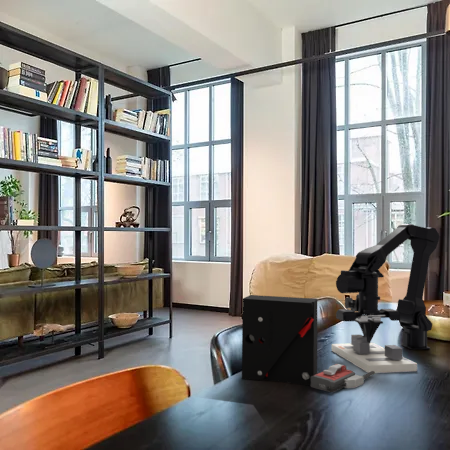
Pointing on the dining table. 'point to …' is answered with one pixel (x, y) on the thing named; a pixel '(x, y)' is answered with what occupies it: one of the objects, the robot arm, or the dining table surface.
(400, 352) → the grey squarish block
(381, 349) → the switch board
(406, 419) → the dining table surface
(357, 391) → the dining table surface
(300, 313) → the electrical component
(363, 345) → the grey block
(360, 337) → the grey plastic block
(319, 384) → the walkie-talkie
